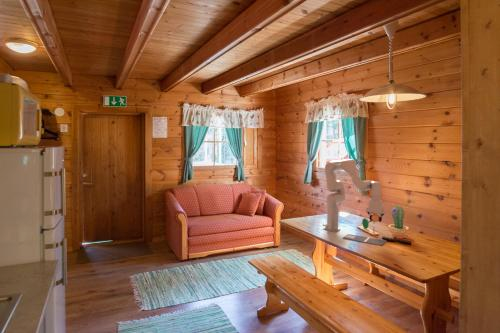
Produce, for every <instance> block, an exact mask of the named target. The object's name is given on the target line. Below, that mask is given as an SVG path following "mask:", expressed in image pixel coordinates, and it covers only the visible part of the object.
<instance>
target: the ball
mask: <svg viewBox="0 0 500 333" xmlns="http://www.w3.org/2000/svg"><path fill="white" fill-rule="evenodd" d="M379 217H380V215H379V213H378V214H372V217H371V218H372V220H373V221H374V222H373V223H378V222H379Z"/></svg>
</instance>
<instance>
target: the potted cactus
mask: <svg viewBox="0 0 500 333" xmlns="http://www.w3.org/2000/svg"><path fill="white" fill-rule="evenodd" d="M390 212H391V217H392V220H393V224H392V223H391V224H388V226H387V227H388V229H389V231H390V233H391V237H393V238H395V237H396V239H403V238H405V235H406V234H407V233H408V231H409V229H410V228H409V226H407V225H404V218H405V210H404V208H403V207H402V206H401V205H395V206H394V207H393V208H392V209H391V210H390Z"/></svg>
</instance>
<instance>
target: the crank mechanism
mask: <svg viewBox="0 0 500 333" xmlns="http://www.w3.org/2000/svg"><path fill="white" fill-rule="evenodd" d="M373 214H378V215H379V213H372V215H373ZM371 222H373V223H375V222H374V221H373V220H372V221H370V220H369V221H368V219H367V217H363V218H362V222H361V224H362V225H359V226H356V227H357V229H358V230H360V231H362V232H364V233H366V234H368V235H370V236H372V237H377V236H380V233H379V232H377V231H375V228H373V229H370V228H369V223H371Z"/></svg>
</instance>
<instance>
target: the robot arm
mask: <svg viewBox="0 0 500 333" xmlns="http://www.w3.org/2000/svg"><path fill="white" fill-rule="evenodd" d="M335 171H344V172H345V174H348V176H349V177H350V178H351V182H352V184H353V185H354V186H355V187H356V188H357V189H358V190H359V191H361V192H363V191H370V195H368V198H370V199H368V200H369V201H368V207H367V208H365V212H366V213H367V215H368V216H369V221H371V222H372V218H371V217H372V215H373V214H372V213H378V215H379V221H378V222H379V223H381V222H382V221H383V216H385V215H386V214H387V211H386V210H385V209H384V204H383V203H384V202H383V200H382V185H383V184H382V182H381V181H375V180H362V179H361V178H360V177H359V174H360V169H359V168H358V167H357V162H356V160H355V159H352V158H348V159H347V158H346V159H341V160H339V159H338V160H332V161H331V160H330V161H328V162H327V163H326V164H325V166H324V172H325V179H326V187H327V188H326V189H327V190H328V192H329V193H330V194H328V195H327V196H326V200H325V201H326V207H327V208H326V211H327V213H326V223H322V226H323V227H324V230H326V231H327V232H328V231H329V232H340V231H341V228H340V227H339V213H340V212H339V206H338V205H339V204H340V205H341V204H343V203H344V202H345V201H346V192H345V186H344V182H343V181H341V180H340V179H337V176H336V173H335Z"/></svg>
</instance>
